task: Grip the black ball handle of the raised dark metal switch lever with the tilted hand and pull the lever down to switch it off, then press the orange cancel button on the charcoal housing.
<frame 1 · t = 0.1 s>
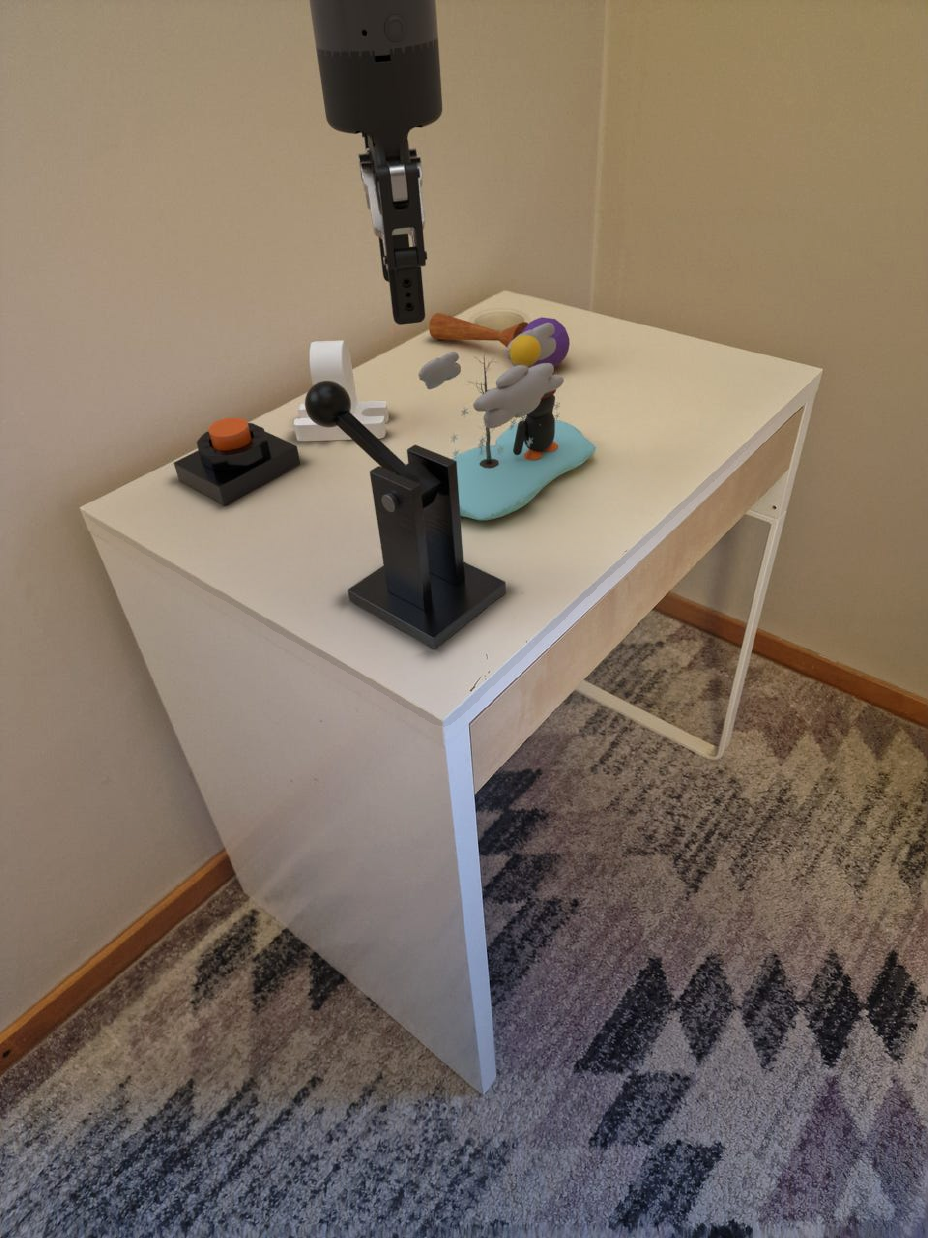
hand: (403, 299, 63), 23 cm above the table, tool pointing down, fingers open, 8 cm apart
button housing: (240, 472, 90), on the table
lever: (369, 443, 67), point 13 cm above the table, hinge at 25.0°
white mounting bracket: (343, 429, 96), on the table
kendama: (498, 355, 109), on the table
penguin figurine: (512, 479, 86), on the table
switch bracket: (427, 596, 73), on the table
cancel button: (230, 434, 87), point 4 cm above the table, slide at 0.1 cm
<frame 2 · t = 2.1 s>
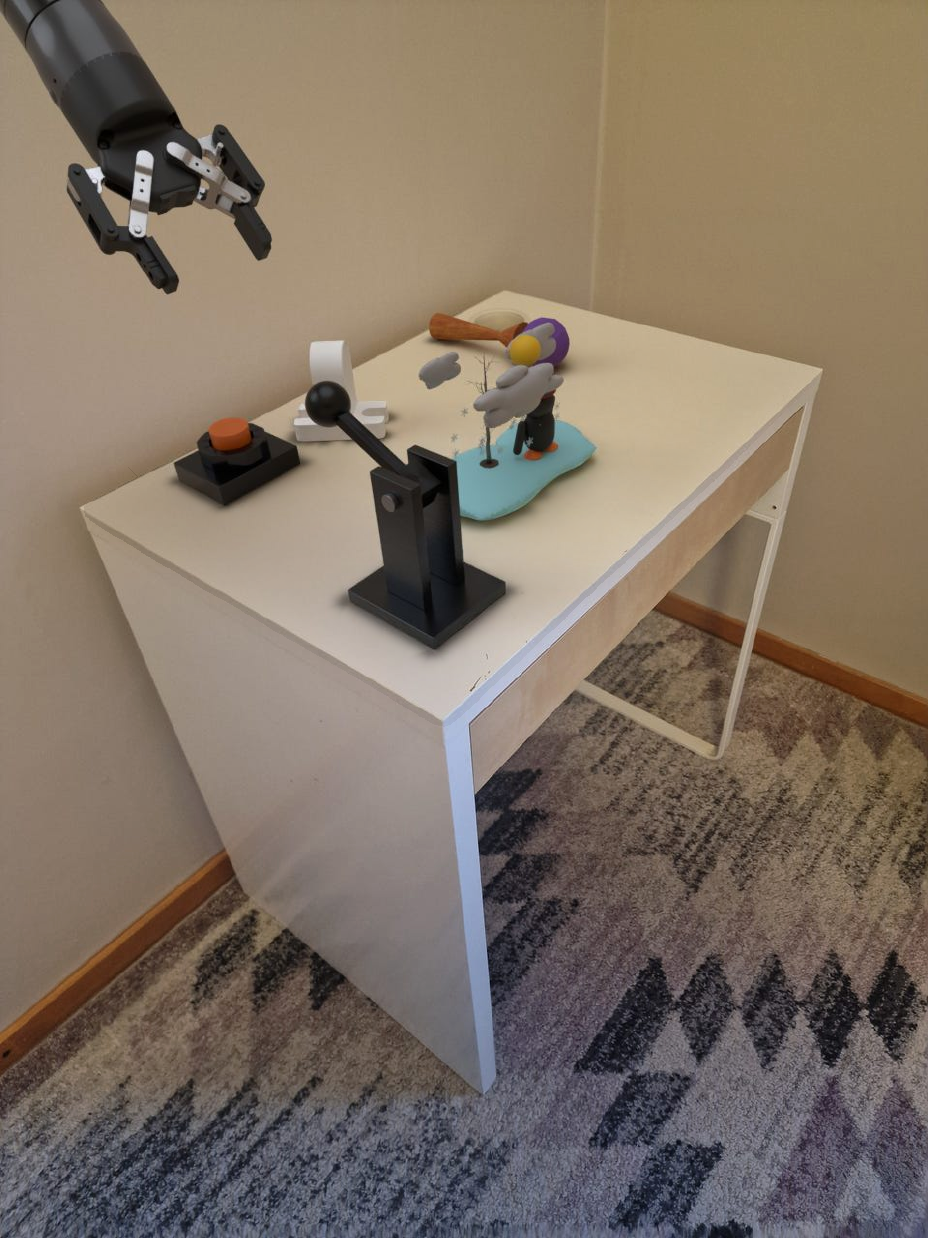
hand: (221, 270, 68), 24 cm above the table, tool tilted 45°, fingers open, 8 cm apart
nothing on the table moved.
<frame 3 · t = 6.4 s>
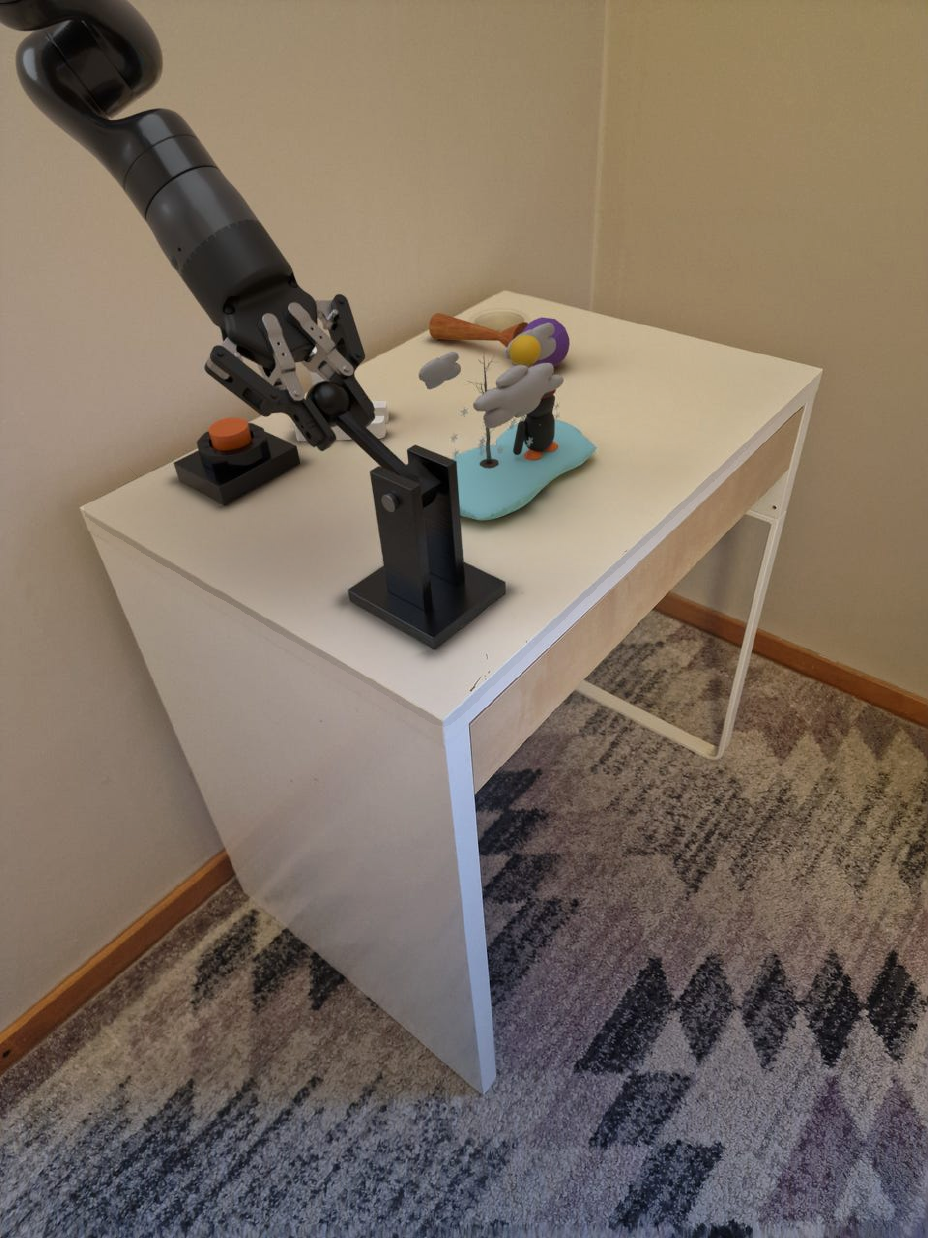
hand: (348, 433, 68), 13 cm above the table, tool tilted 45°, fingers closed on lever, 3 cm apart
lever: (369, 443, 67), point 13 cm above the table, hinge at 25.0°, touching gripper
everything else where it was.
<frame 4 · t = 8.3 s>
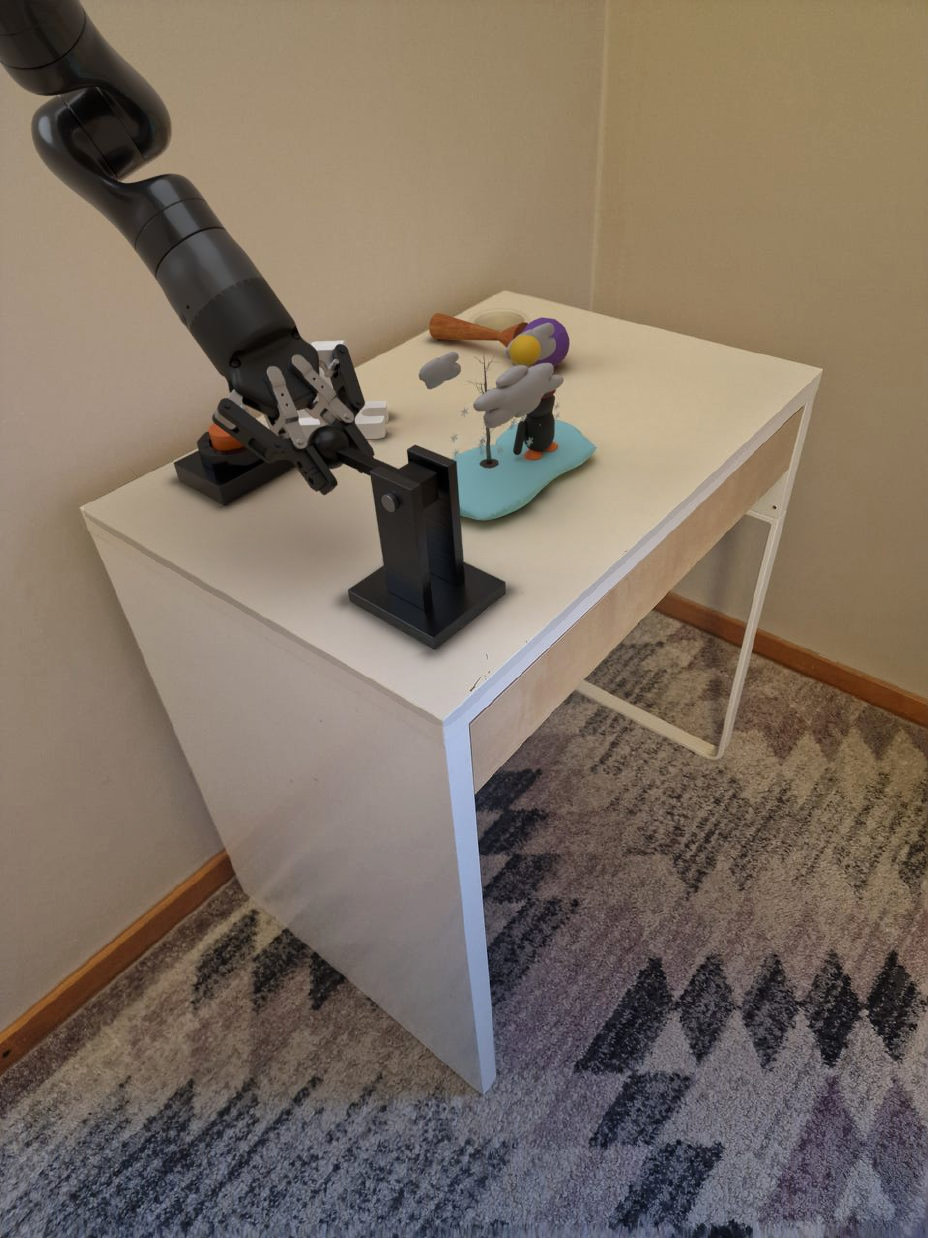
hand: (349, 477, 71), 9 cm above the table, tool tilted 45°, fingers closed on lever, 3 cm apart
lever: (368, 465, 68), point 11 cm above the table, hinge at 0.2°, touching gripper
everything else where it was.
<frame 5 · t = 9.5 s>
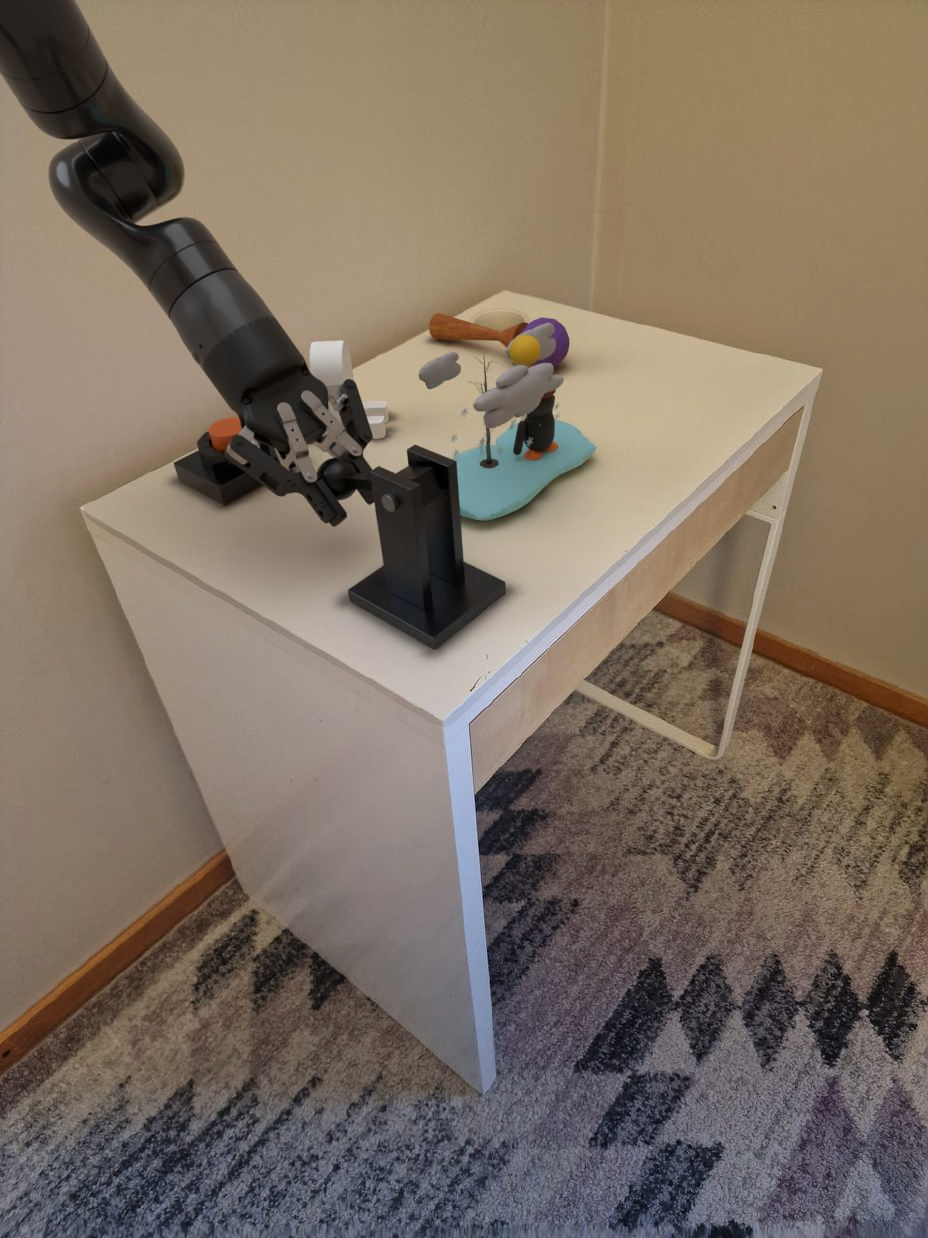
hand: (358, 509, 73), 6 cm above the table, tool tilted 45°, fingers closed on lever, 3 cm apart
lever: (372, 482, 69), point 10 cm above the table, hinge at -16.6°, touching gripper
everything else where it was.
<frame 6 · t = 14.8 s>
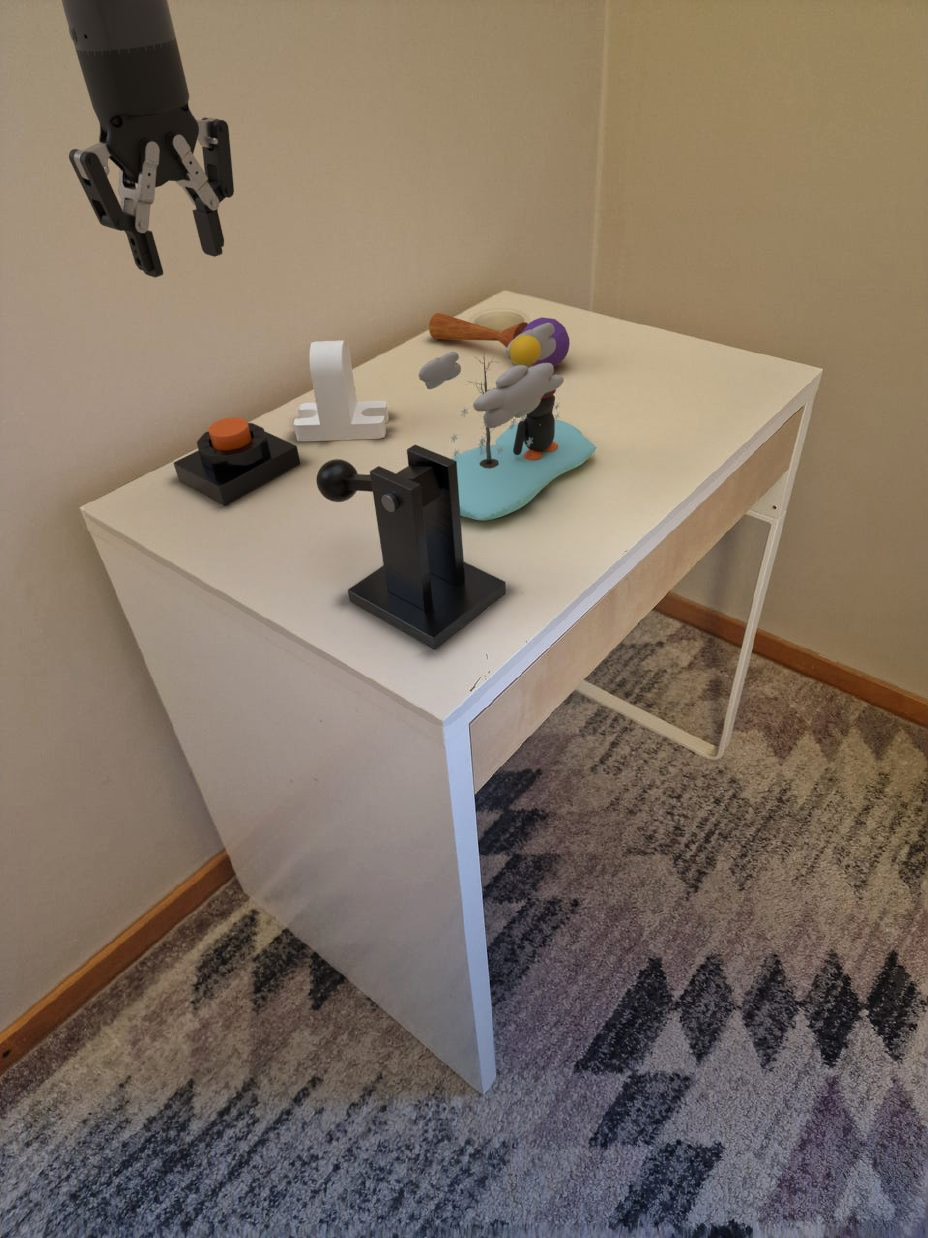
hand: (184, 263, 76), 21 cm above the table, tool pointing down, fingers open, 5 cm apart
lever: (373, 483, 69), point 9 cm above the table, hinge at -17.4°
everything else where it was.
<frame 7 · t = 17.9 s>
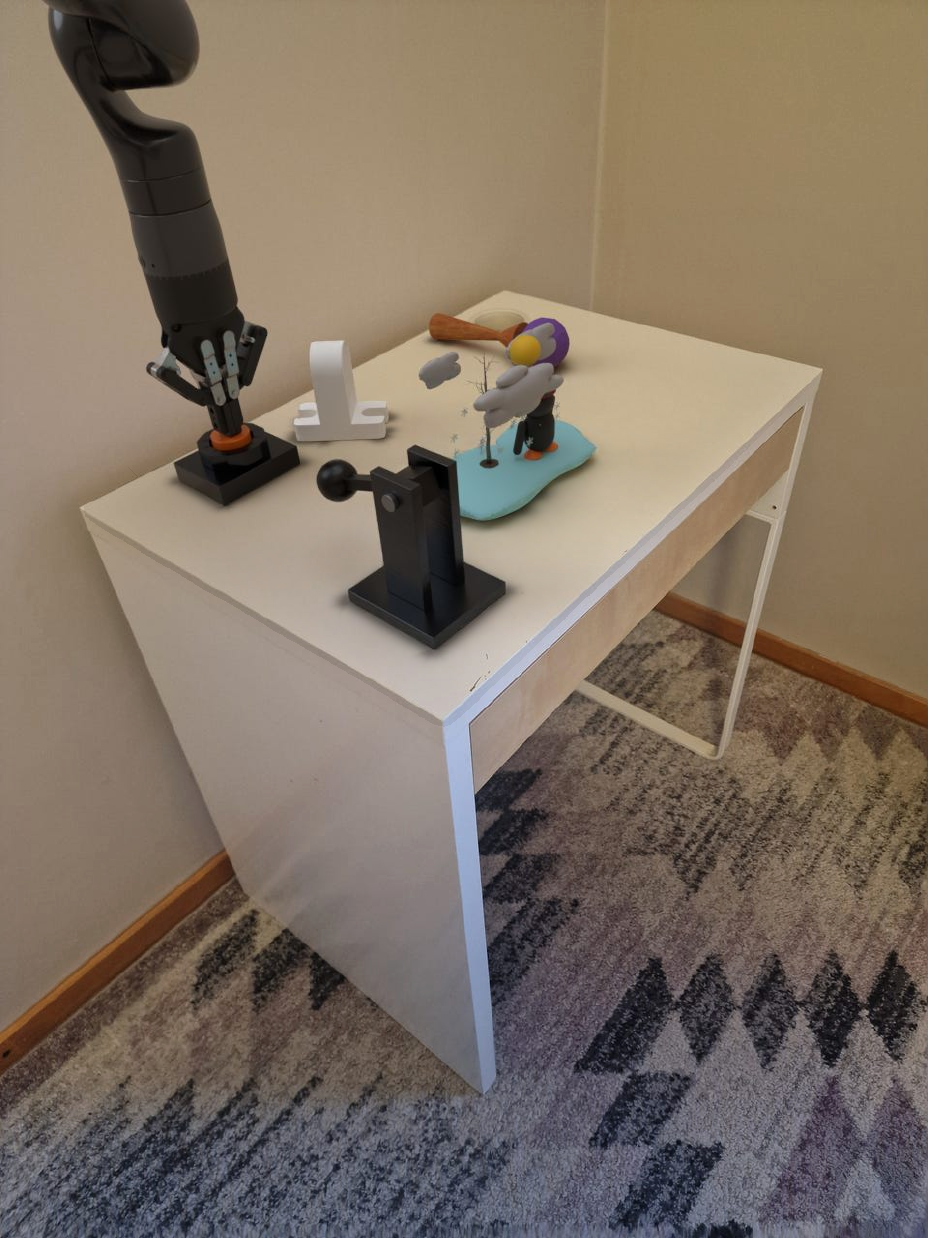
hand: (230, 432, 87), 5 cm above the table, tool pointing down, fingers closed
cancel button: (231, 440, 88), point 4 cm above the table, slide at -0.6 cm, touching gripper
everything else where it was.
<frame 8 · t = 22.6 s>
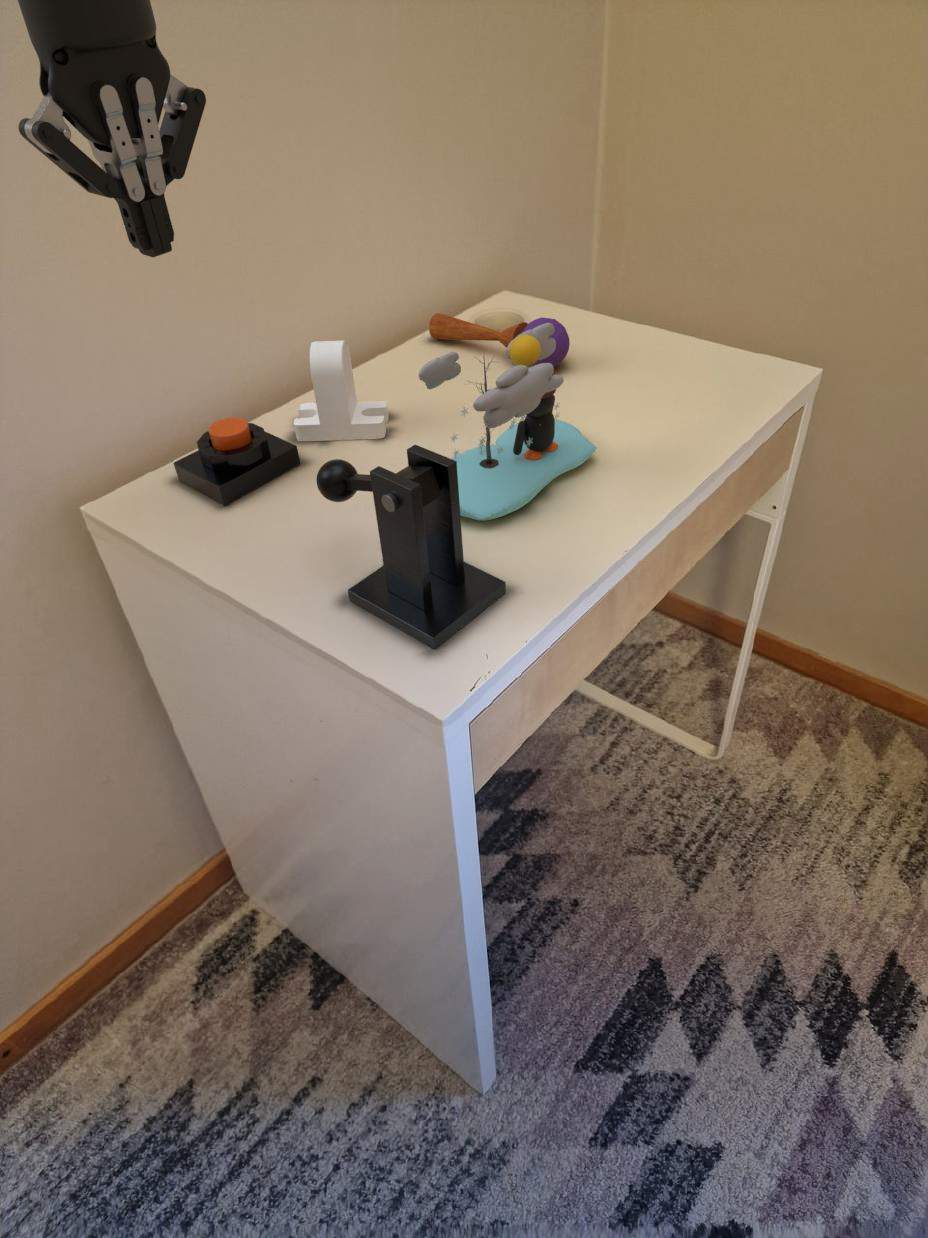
hand: (156, 252, 61), 27 cm above the table, tool pointing down, fingers closed
cancel button: (230, 434, 87), point 4 cm above the table, slide at 0.1 cm
everything else where it was.
at the end: lever at -17° (first picture: +25°); cancel button pushed in 1.1 cm at the most during the clip, back to where it started at the end; cancel button slide at 0.1 cm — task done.
